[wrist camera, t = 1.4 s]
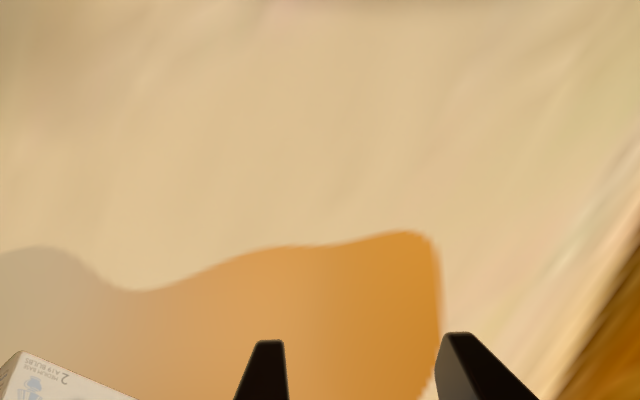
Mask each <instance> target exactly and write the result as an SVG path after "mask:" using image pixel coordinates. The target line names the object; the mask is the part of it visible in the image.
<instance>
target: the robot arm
mask: <svg viewBox="0 0 640 400" xmlns="http://www.w3.org/2000/svg"><path fill="white" fill-rule="evenodd" d="M435 381H436V387H437V392H438V397H439V400H539V399H538V398H537V397H536V396H535V395H534V394H533V393H532V392H531V391H530V390H529V389H528V388H527V387H526V386H525V385H524V384H523V383H522V382H521V381H520V380H519V379H518V378H517V377H516V376H515V375H514V374H513V373H512V372H511V371H510V370H509V369H508V368H507V367H506V366H505V365H504V364H503V363H502V362H501V361H500V360H499V359H498V358H497V357H496V356H495V355H494V354H493V353H492V352H491V351H490V350H489V349H488V348H487V347H486V346H485V345H484V344H483V343H482V342H481V341H480V340H479V339H478V338H476V337H475V336H474V335H473V334H472V333H470V332H449V333H446V334H445V335H444V336H443V339H442V342H441V346H440V349H439V353H438V356H437V359H436V363H435ZM233 400H290V399H289V389H288V379H287V369H286V359H285V349H284V343H283V342H282V340H279V339H278V340H260V341H258V342H257V343H256V345H255V347H254V349H253V352H252V354H251V357H250V359H249V361H248V364H247V366H246V369H245V372H244V374H243V376H242V379H241V381H240V384H239V386H238V388H237V391H236V393H235V396H234V398H233Z"/></svg>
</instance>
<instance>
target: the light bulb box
mask: <svg viewBox="0 0 640 400" xmlns="http://www.w3.org/2000/svg"><path fill="white" fill-rule="evenodd" d="M0 400H138V399H136V398H133V397H131V396H129V395H126V394H124V393H121V392H119V391H117V390H114V389H112V388H110V387H107V386H105V385H103V384H100V383H98V382H96V381H93V380H91V379H89V378H86V377H84V376H82V375H79V374H77V373H75V372H72V371H70V370H68V369H65V368H63V367H61V366H58V365H56V364H54V363H51V362H49V361H46V360H44V359H42V358H39V357H37V356H35V355H32V354H30V353H28V352H25V351H19V352H17V353H16V354H14V355H13V356H12V357H11V358H10V359H9V360H8V361H7V362H6V363H5V364H4V365H3V366H2V367H1V368H0Z"/></svg>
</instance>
